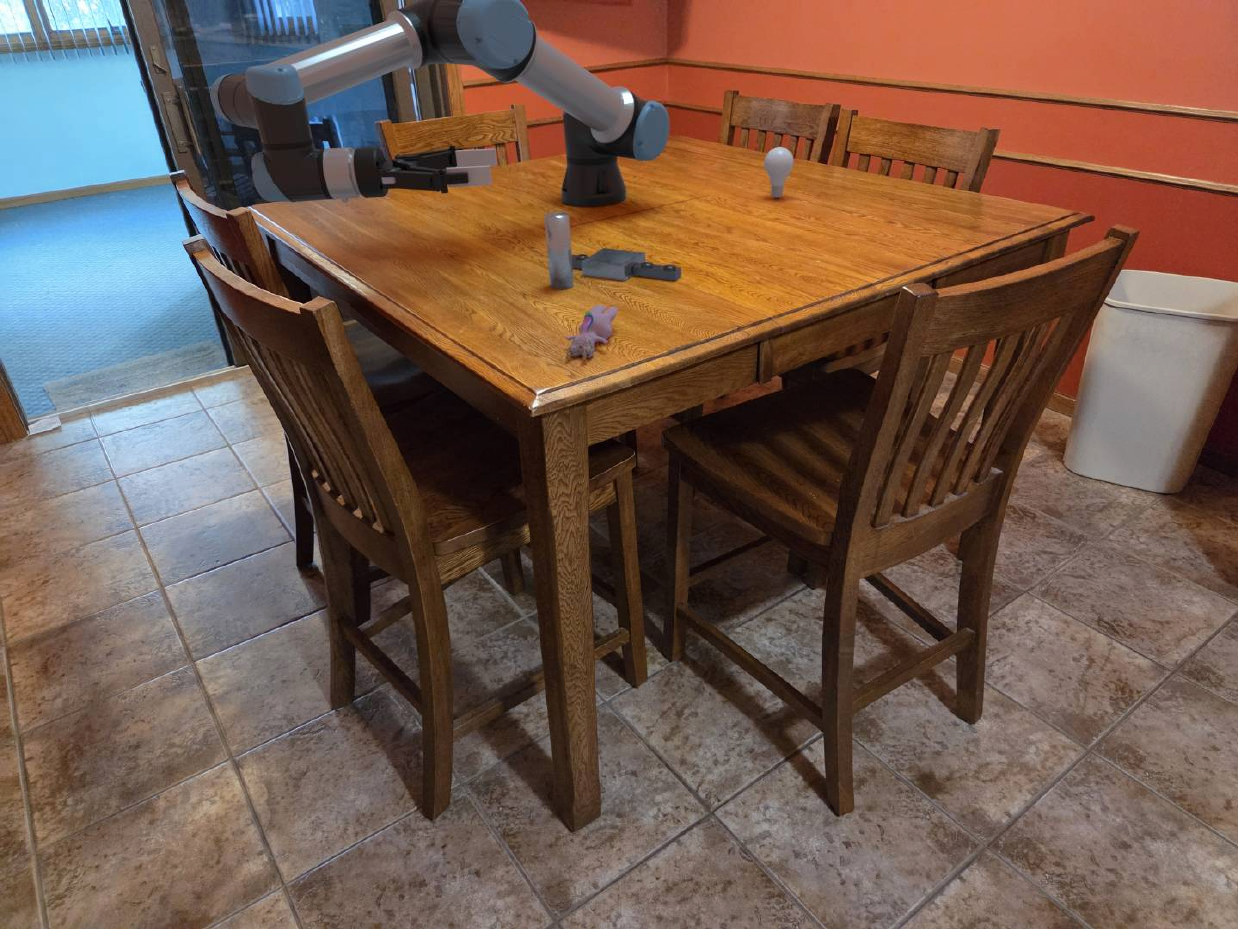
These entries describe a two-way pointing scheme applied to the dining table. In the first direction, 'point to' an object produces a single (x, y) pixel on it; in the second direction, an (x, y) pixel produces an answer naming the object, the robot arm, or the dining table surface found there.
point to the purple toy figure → (592, 332)
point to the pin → (559, 250)
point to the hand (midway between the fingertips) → (493, 165)
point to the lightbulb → (778, 169)
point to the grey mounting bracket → (622, 265)
